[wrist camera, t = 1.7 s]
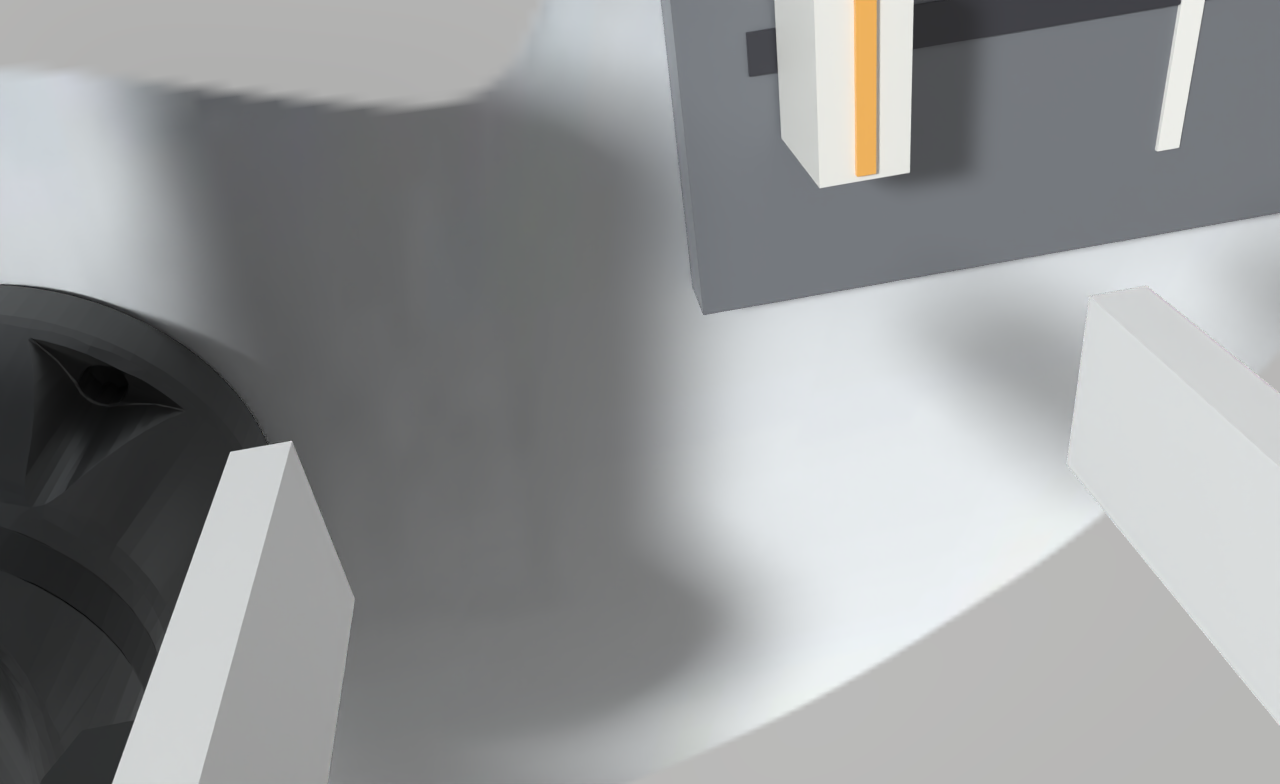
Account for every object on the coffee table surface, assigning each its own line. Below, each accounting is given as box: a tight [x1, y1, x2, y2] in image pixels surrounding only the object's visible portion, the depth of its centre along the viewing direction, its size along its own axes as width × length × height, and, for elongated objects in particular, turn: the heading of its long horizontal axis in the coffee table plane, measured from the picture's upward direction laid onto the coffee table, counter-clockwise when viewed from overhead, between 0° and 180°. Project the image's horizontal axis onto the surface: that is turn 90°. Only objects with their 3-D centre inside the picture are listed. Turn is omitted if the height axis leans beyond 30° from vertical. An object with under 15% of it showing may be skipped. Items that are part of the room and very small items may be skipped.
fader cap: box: [774, 0, 914, 188], centre depth 26 cm, size 2×5×4 cm, turn 8°
